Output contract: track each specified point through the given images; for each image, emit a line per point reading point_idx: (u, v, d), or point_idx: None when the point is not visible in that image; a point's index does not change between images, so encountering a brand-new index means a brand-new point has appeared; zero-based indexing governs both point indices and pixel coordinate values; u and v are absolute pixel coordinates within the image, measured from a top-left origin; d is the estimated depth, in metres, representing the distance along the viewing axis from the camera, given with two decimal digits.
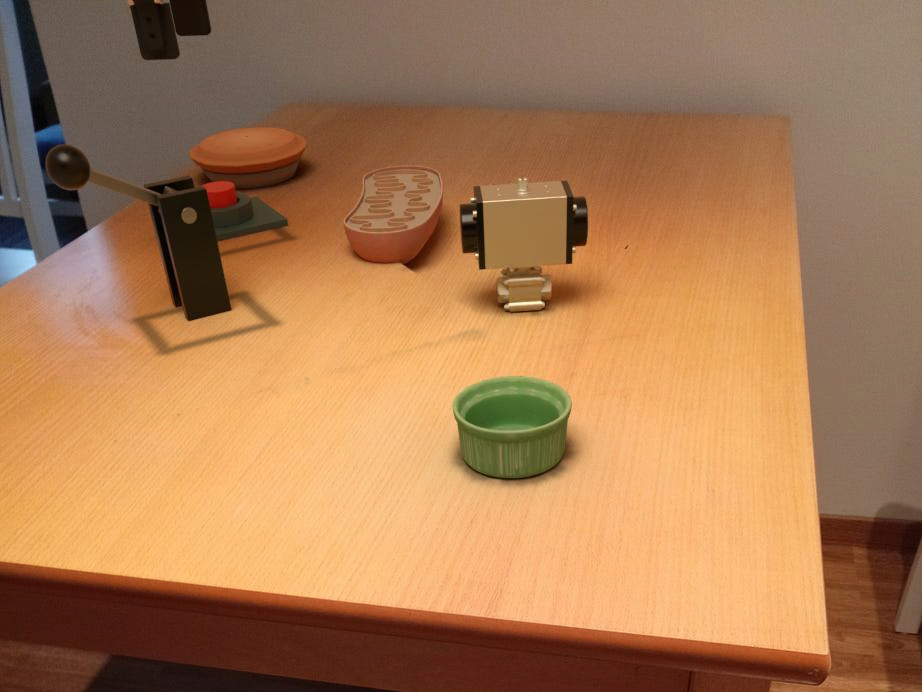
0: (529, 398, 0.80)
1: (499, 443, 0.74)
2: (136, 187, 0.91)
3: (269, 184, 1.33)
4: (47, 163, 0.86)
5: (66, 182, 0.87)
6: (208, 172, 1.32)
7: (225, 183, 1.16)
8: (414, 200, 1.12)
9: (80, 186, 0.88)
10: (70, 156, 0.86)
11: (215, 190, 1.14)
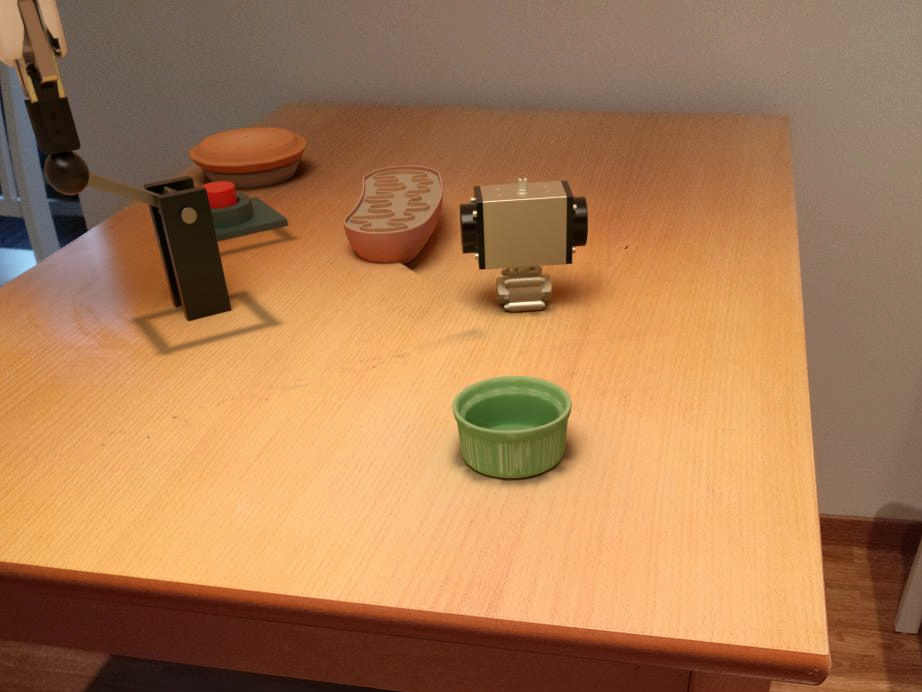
0: (529, 398, 0.80)
1: (499, 443, 0.74)
2: (135, 189, 0.91)
3: (269, 184, 1.33)
4: (46, 169, 0.86)
5: (65, 187, 0.87)
6: (208, 172, 1.32)
7: (225, 183, 1.16)
8: (414, 200, 1.12)
9: (80, 190, 0.88)
10: (68, 161, 0.86)
11: (215, 190, 1.14)
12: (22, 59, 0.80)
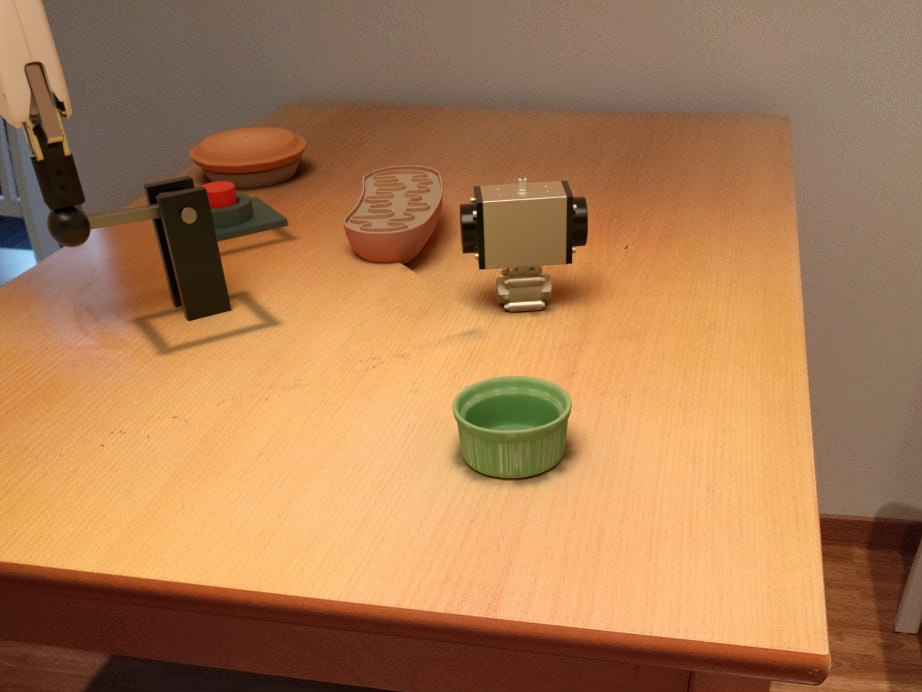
0: (529, 398, 0.80)
1: (499, 443, 0.74)
2: (133, 211, 0.91)
3: (269, 184, 1.33)
4: (50, 232, 0.89)
5: (73, 242, 0.90)
6: (208, 172, 1.32)
7: (225, 183, 1.16)
8: (414, 200, 1.12)
9: (86, 238, 0.90)
10: (64, 218, 0.88)
11: (215, 190, 1.14)
12: (29, 120, 0.82)
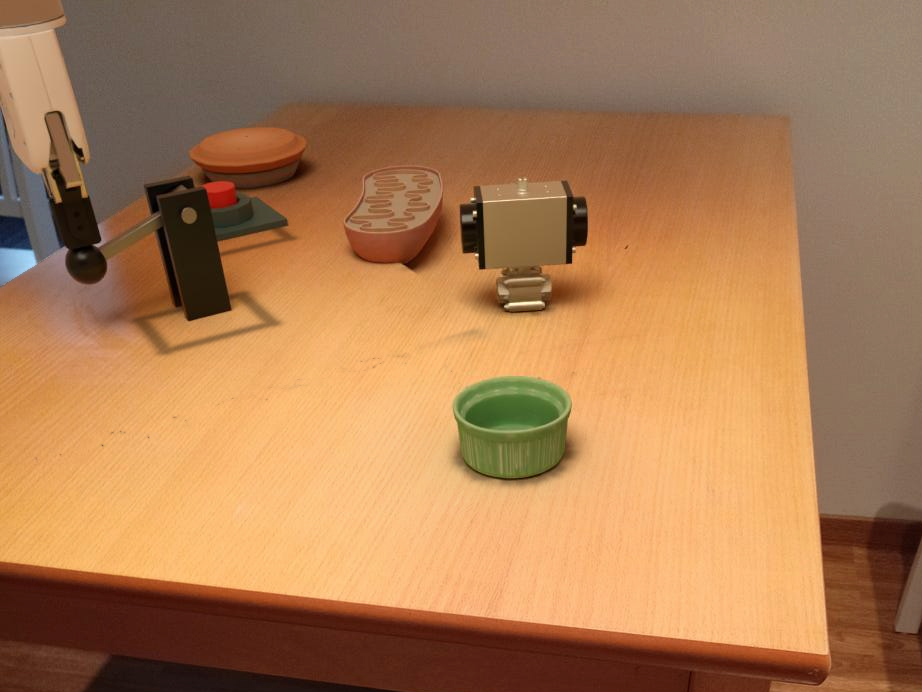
0: (529, 398, 0.80)
1: (499, 443, 0.74)
2: (138, 228, 0.93)
3: (269, 184, 1.33)
4: (72, 277, 0.92)
5: (94, 279, 0.92)
6: (208, 172, 1.32)
7: (225, 183, 1.16)
8: (414, 200, 1.12)
9: (105, 271, 0.93)
10: (79, 260, 0.91)
11: (215, 190, 1.14)
12: (48, 165, 0.84)
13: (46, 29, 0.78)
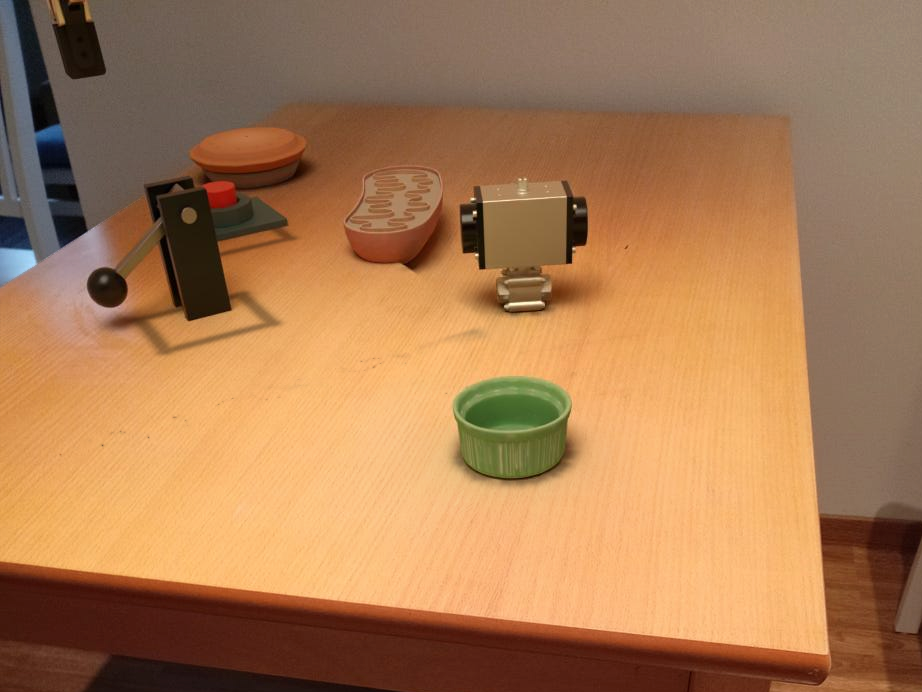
0: (529, 398, 0.80)
1: (499, 443, 0.74)
2: (146, 239, 0.93)
3: (269, 184, 1.33)
4: None
5: (118, 301, 0.94)
6: (208, 172, 1.32)
7: (225, 183, 1.16)
8: (414, 200, 1.12)
9: (126, 290, 0.94)
10: (99, 287, 0.93)
11: (215, 190, 1.14)
12: None
13: None
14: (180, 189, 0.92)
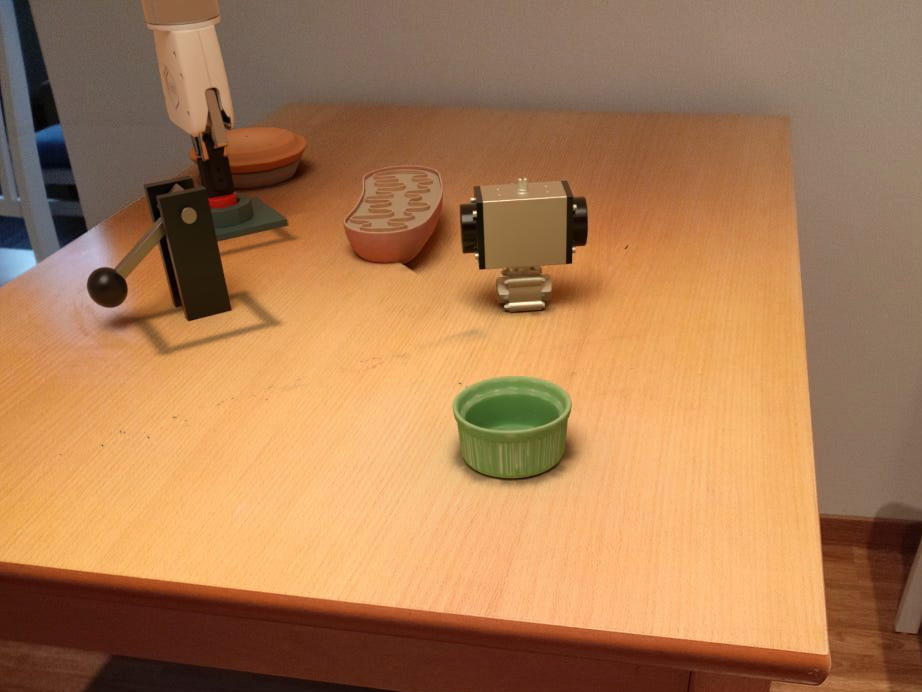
0: (529, 398, 0.80)
1: (499, 443, 0.74)
2: (146, 239, 0.93)
3: (269, 184, 1.33)
4: None
5: (118, 301, 0.94)
6: None
7: None
8: (414, 200, 1.12)
9: (126, 290, 0.94)
10: (99, 287, 0.93)
11: (216, 198, 1.15)
12: None
13: (209, 25, 1.03)
14: (180, 189, 0.92)
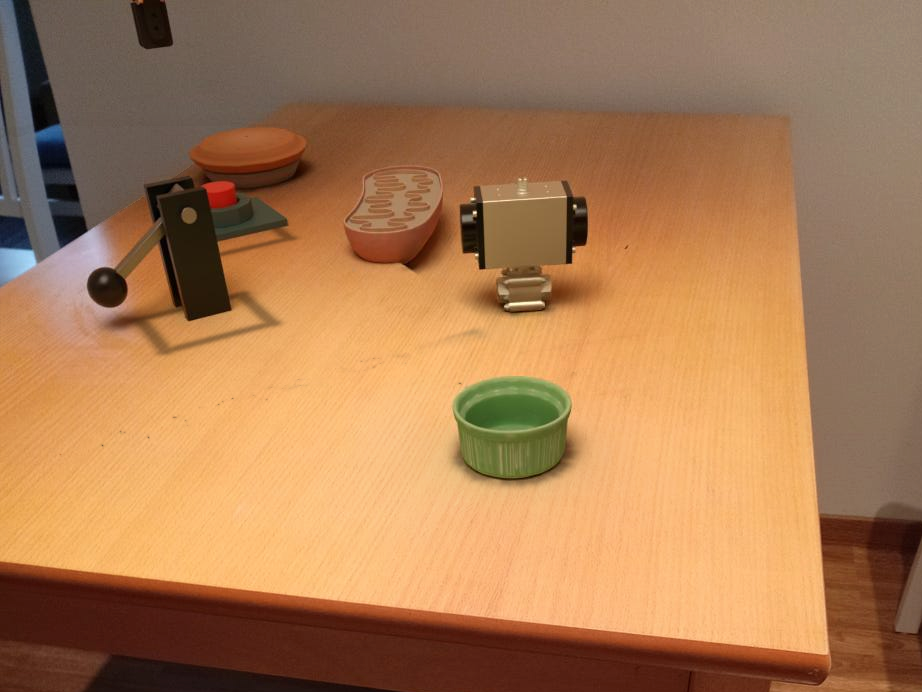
0: (529, 398, 0.80)
1: (499, 443, 0.74)
2: (146, 239, 0.93)
3: (269, 184, 1.33)
4: None
5: (118, 301, 0.94)
6: (208, 172, 1.32)
7: (225, 183, 1.16)
8: (414, 200, 1.12)
9: (126, 290, 0.94)
10: (99, 287, 0.93)
11: (215, 190, 1.14)
12: None
13: None
14: (180, 189, 0.92)
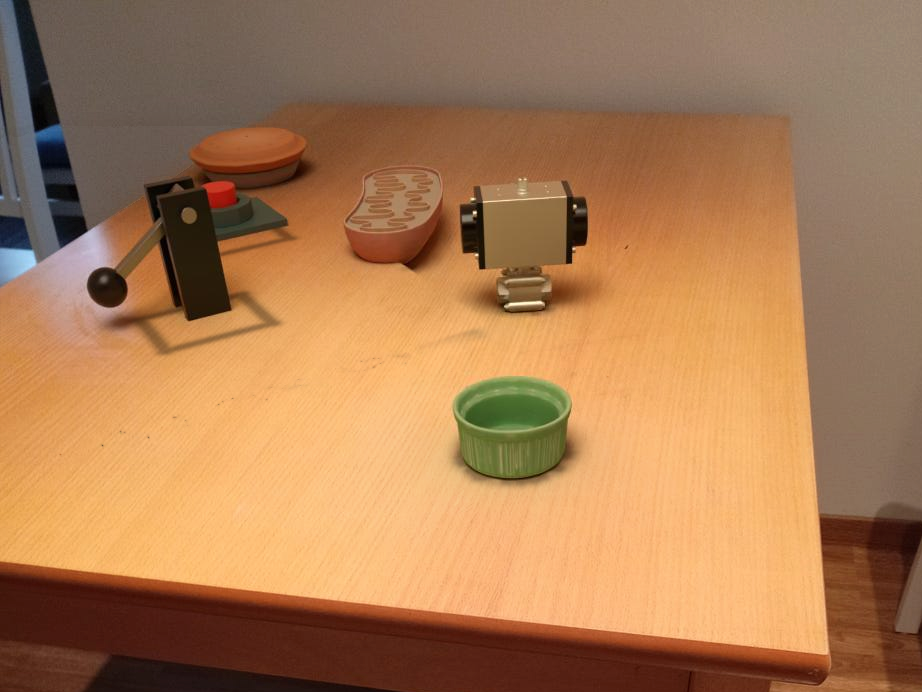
0: (529, 398, 0.80)
1: (499, 443, 0.74)
2: (146, 239, 0.93)
3: (269, 184, 1.33)
4: None
5: (118, 301, 0.94)
6: (208, 172, 1.32)
7: (225, 183, 1.16)
8: (414, 200, 1.12)
9: (126, 290, 0.94)
10: (99, 287, 0.93)
11: (215, 190, 1.14)
12: None
13: None
14: (180, 189, 0.92)
